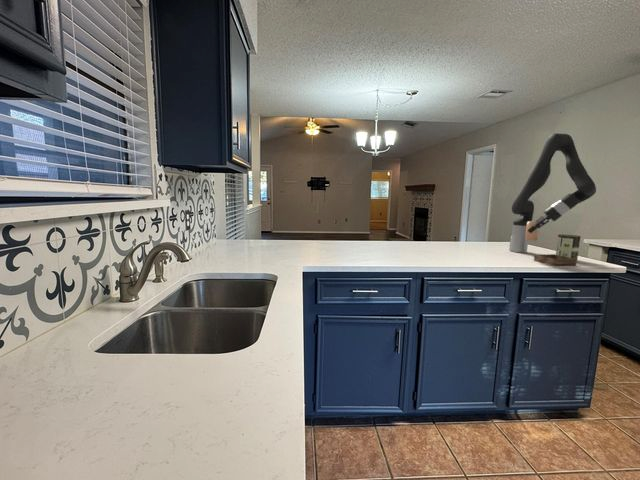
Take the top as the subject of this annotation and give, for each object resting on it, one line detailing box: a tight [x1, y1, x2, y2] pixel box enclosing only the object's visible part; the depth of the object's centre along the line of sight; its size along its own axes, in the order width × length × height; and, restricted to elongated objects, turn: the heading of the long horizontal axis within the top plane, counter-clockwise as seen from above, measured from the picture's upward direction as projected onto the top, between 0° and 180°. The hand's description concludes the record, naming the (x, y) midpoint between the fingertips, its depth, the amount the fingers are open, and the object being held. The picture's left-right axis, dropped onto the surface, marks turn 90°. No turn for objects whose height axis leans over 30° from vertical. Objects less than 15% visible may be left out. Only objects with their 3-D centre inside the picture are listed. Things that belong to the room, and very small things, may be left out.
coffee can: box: [555, 234, 582, 262], centre depth 181 cm, size 10×10×14 cm
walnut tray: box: [533, 253, 578, 267], centre depth 172 cm, size 13×13×4 cm
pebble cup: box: [525, 220, 539, 242], centre depth 177 cm, size 6×6×10 cm
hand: (528, 231), depth 178 cm, fingers closed on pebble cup, 5 cm apart
